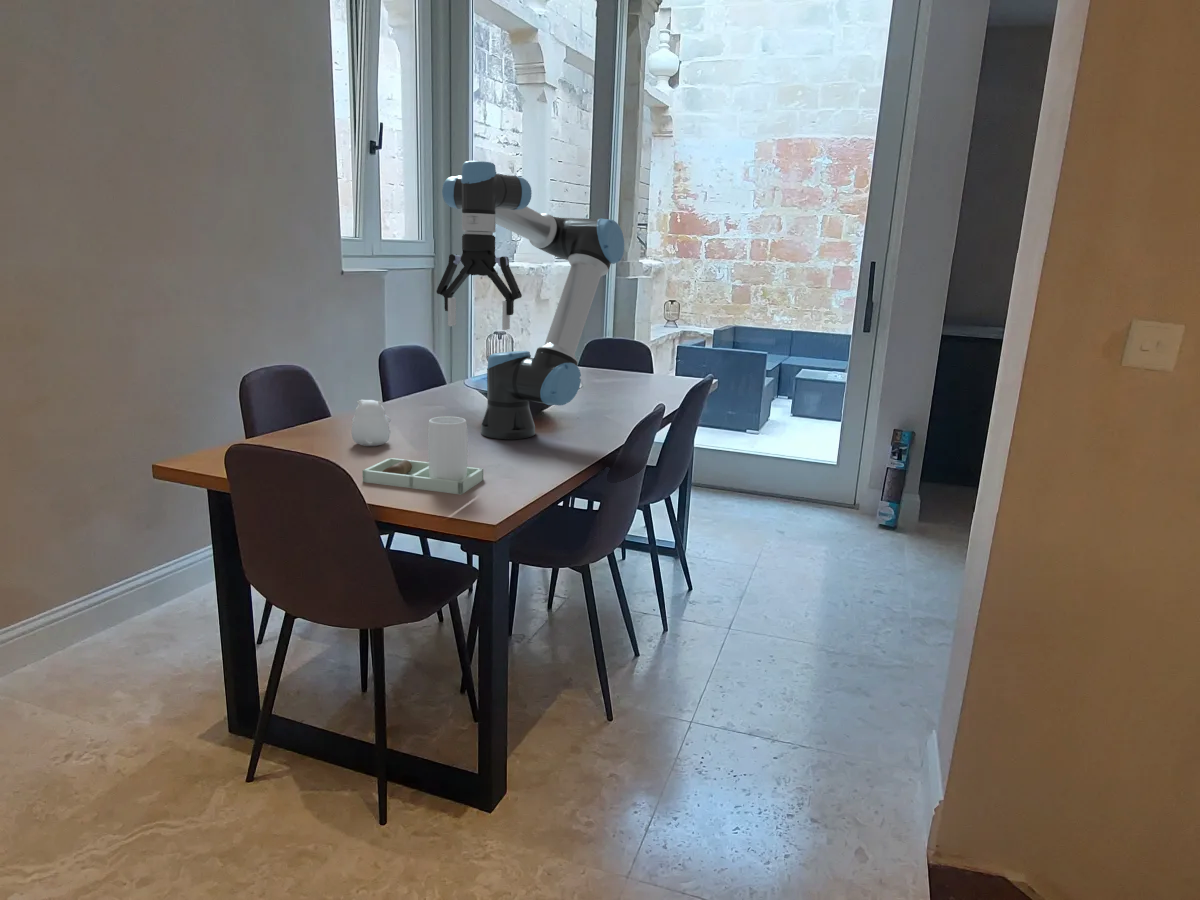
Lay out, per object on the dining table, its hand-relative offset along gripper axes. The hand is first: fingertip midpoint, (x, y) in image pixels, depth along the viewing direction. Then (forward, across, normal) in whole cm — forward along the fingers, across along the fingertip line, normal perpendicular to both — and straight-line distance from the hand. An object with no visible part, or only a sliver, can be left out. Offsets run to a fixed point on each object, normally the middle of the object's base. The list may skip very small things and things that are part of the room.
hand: (478, 327), depth 184 cm
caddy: (+32, -4, -21) cm, 39 cm away
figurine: (+33, -31, +3) cm, 45 cm away
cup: (+32, +2, -21) cm, 38 cm away
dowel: (+32, -10, -21) cm, 39 cm away
